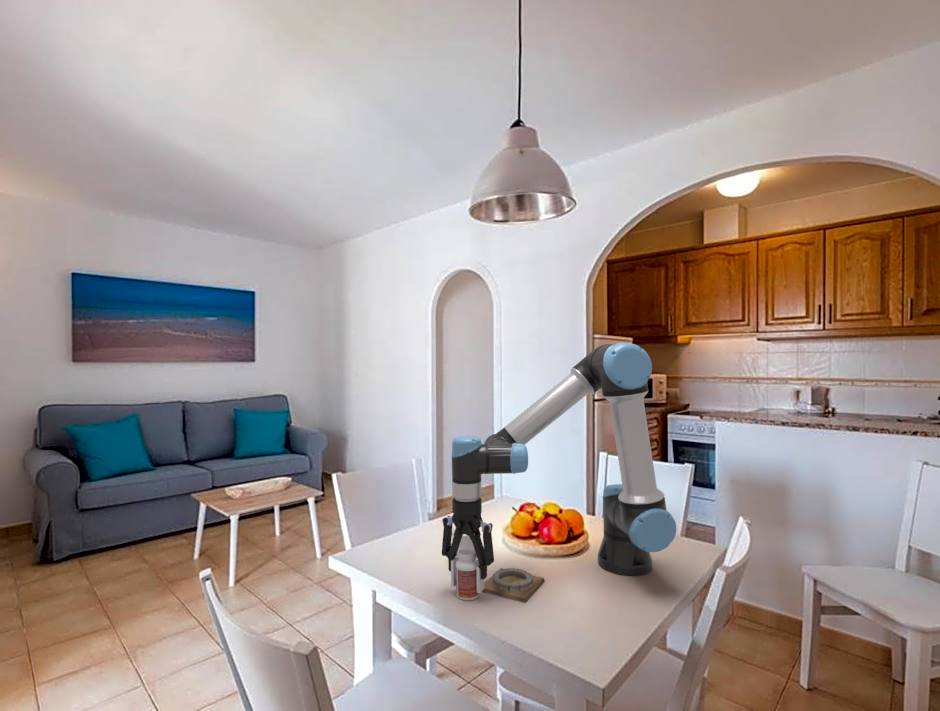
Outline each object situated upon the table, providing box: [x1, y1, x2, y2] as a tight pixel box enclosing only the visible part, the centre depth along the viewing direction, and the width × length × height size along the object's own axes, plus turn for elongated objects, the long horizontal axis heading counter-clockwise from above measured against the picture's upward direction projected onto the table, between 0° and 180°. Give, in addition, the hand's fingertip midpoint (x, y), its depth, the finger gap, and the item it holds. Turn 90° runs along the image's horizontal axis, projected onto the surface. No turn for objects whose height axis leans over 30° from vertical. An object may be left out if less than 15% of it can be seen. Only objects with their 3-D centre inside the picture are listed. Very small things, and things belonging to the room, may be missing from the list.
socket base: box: [481, 567, 546, 603], centre depth 129 cm, size 13×13×2 cm
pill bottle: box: [455, 549, 481, 601], centre depth 125 cm, size 6×6×11 cm
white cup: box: [451, 527, 478, 560], centre depth 144 cm, size 8×8×10 cm
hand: (467, 587), depth 125 cm, fingers open, 7 cm apart
